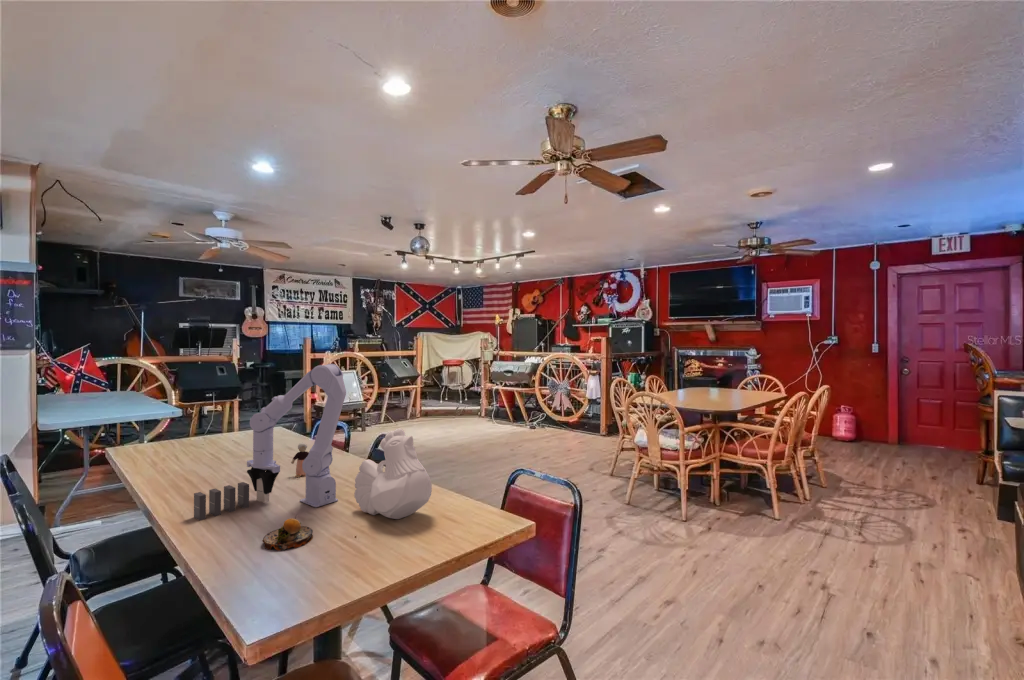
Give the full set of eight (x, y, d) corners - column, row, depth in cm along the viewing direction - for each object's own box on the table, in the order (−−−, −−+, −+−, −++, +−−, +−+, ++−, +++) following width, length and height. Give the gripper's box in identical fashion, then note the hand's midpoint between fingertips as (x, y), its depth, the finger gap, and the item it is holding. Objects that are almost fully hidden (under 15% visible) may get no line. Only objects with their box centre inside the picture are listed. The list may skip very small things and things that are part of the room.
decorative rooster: (448, 496, 136) (423, 422, 148) (405, 500, 123) (382, 419, 136) (397, 533, 146) (378, 460, 158) (353, 540, 134) (336, 461, 146)
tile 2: (235, 510, 141) (235, 487, 141) (229, 512, 140) (229, 489, 140) (229, 507, 144) (229, 485, 144) (223, 509, 142) (223, 486, 142)
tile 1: (249, 506, 144) (249, 484, 144) (243, 508, 143) (243, 485, 143) (243, 504, 147) (243, 481, 147) (237, 505, 145) (237, 483, 145)
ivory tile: (269, 501, 150) (269, 479, 150) (264, 503, 148) (264, 481, 148) (261, 499, 151) (261, 478, 151) (256, 501, 150) (256, 479, 150)
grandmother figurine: (295, 479, 173) (295, 444, 173) (290, 477, 176) (290, 443, 176) (314, 474, 179) (314, 441, 179) (309, 472, 182) (309, 440, 182)
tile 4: (205, 518, 135) (205, 494, 135) (199, 520, 133) (199, 496, 133) (200, 515, 137) (200, 491, 137) (193, 517, 136) (193, 493, 136)
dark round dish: (300, 528, 129) (300, 501, 129) (321, 540, 122) (322, 511, 122) (254, 542, 120) (254, 513, 120) (274, 556, 112) (274, 525, 112)
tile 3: (220, 514, 138) (221, 491, 138) (214, 516, 137) (215, 492, 137) (215, 511, 140) (215, 488, 140) (209, 513, 139) (209, 489, 139)
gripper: (288, 449, 150) (288, 491, 150) (261, 444, 157) (261, 484, 157) (268, 454, 144) (267, 498, 144) (240, 448, 151) (240, 490, 151)
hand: (263, 491), depth 150 cm, fingers open, 4 cm apart
